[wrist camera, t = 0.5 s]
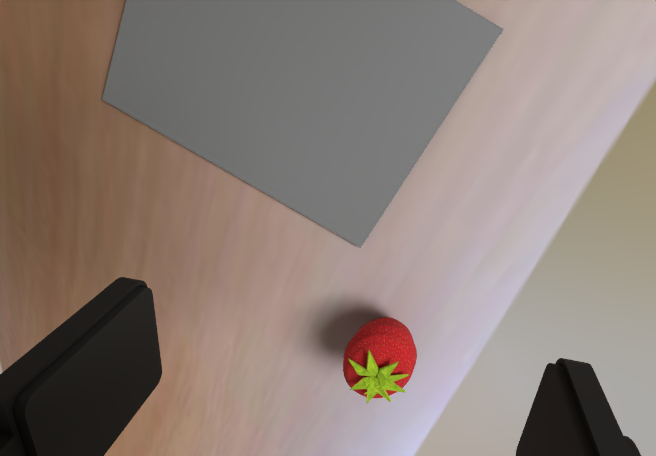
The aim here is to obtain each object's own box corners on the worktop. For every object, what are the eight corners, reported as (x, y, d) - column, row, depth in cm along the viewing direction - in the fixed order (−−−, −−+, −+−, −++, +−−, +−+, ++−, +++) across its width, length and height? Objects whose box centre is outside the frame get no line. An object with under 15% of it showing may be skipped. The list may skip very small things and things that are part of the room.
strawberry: (341, 334, 45) (318, 412, 36) (375, 279, 41) (359, 350, 33) (394, 361, 45) (384, 445, 36) (432, 308, 41) (431, 387, 33)
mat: (172, -167, 30) (167, -171, 30) (502, 28, 31) (503, 29, 30) (106, 98, 40) (102, 99, 39) (361, 244, 40) (360, 247, 40)
